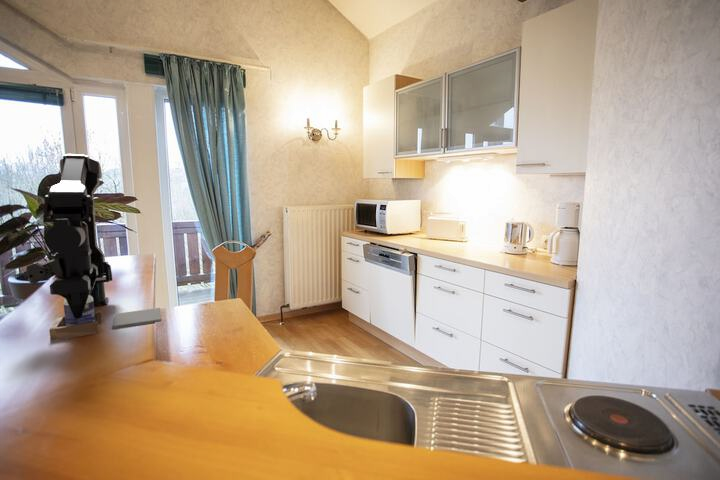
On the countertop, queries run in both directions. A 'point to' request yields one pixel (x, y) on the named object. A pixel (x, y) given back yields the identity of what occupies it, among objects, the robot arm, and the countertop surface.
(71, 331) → the wooden u-shaped frame
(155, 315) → the slate coaster
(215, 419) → the countertop surface
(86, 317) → the pill bottle
